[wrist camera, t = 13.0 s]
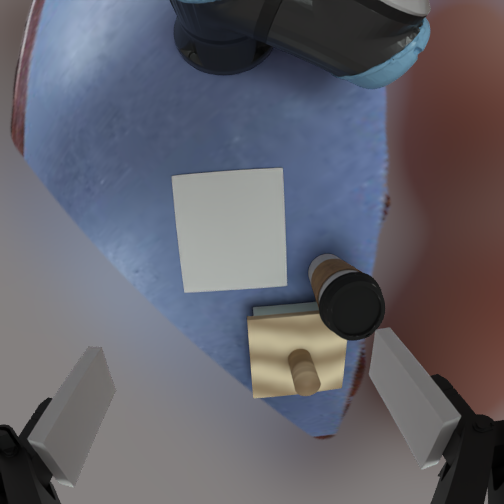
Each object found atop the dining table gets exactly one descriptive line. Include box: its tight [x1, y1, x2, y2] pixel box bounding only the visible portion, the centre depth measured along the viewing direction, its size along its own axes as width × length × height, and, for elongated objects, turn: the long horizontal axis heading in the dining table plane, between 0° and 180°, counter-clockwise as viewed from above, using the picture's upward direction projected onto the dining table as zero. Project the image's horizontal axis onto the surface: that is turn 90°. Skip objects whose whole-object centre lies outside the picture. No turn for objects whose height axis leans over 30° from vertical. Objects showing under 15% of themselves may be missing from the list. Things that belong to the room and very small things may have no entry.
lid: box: [247, 310, 347, 398], centre depth 44 cm, size 15×15×8 cm
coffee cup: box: [308, 254, 385, 340], centre depth 43 cm, size 8×8×15 cm
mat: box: [172, 168, 287, 293], centre depth 47 cm, size 18×16×1 cm
